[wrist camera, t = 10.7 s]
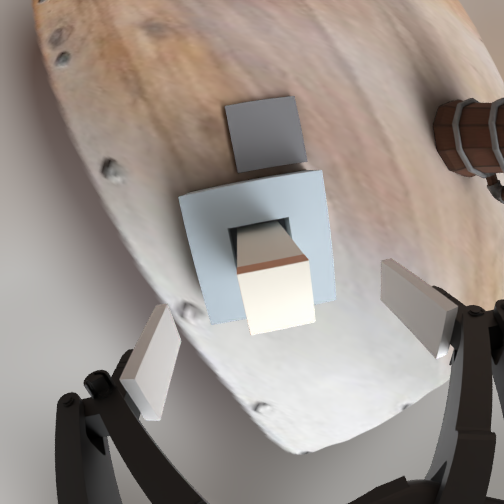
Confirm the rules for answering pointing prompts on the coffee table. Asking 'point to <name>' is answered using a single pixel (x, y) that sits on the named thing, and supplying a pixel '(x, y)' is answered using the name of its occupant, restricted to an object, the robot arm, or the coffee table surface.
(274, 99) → the mat
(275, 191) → the socket block
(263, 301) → the peg
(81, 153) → the coffee table surface
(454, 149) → the mug
